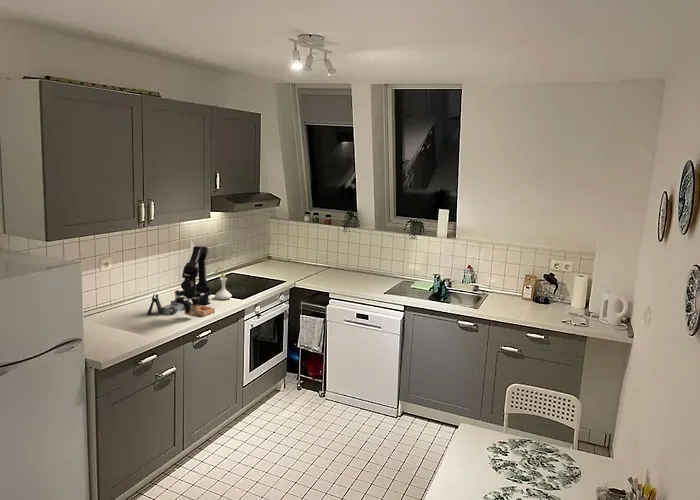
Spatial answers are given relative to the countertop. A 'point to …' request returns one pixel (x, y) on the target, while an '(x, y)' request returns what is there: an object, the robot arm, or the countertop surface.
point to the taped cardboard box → (191, 310)
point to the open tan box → (204, 310)
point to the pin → (176, 296)
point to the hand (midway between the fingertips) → (190, 311)
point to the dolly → (173, 307)
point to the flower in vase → (223, 292)
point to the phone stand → (156, 305)
